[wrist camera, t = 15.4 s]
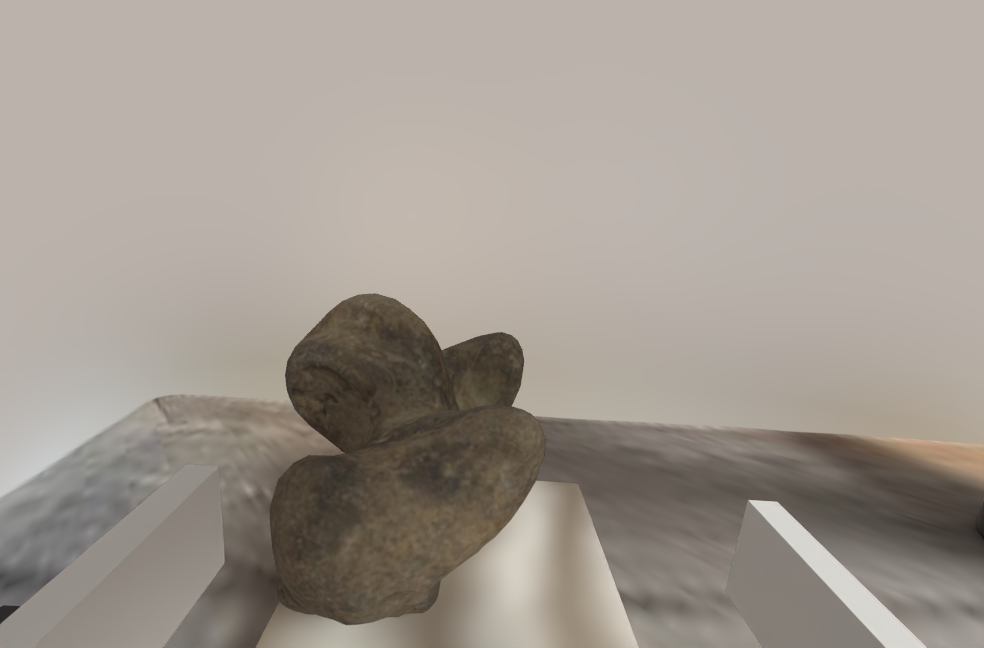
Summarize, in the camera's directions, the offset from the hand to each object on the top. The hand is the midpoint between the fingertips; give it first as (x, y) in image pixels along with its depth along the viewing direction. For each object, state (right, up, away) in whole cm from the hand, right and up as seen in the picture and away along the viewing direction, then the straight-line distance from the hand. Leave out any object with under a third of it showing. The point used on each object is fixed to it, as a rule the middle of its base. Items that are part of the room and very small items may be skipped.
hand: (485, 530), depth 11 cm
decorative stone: (-4, -8, +12) cm, 15 cm away
